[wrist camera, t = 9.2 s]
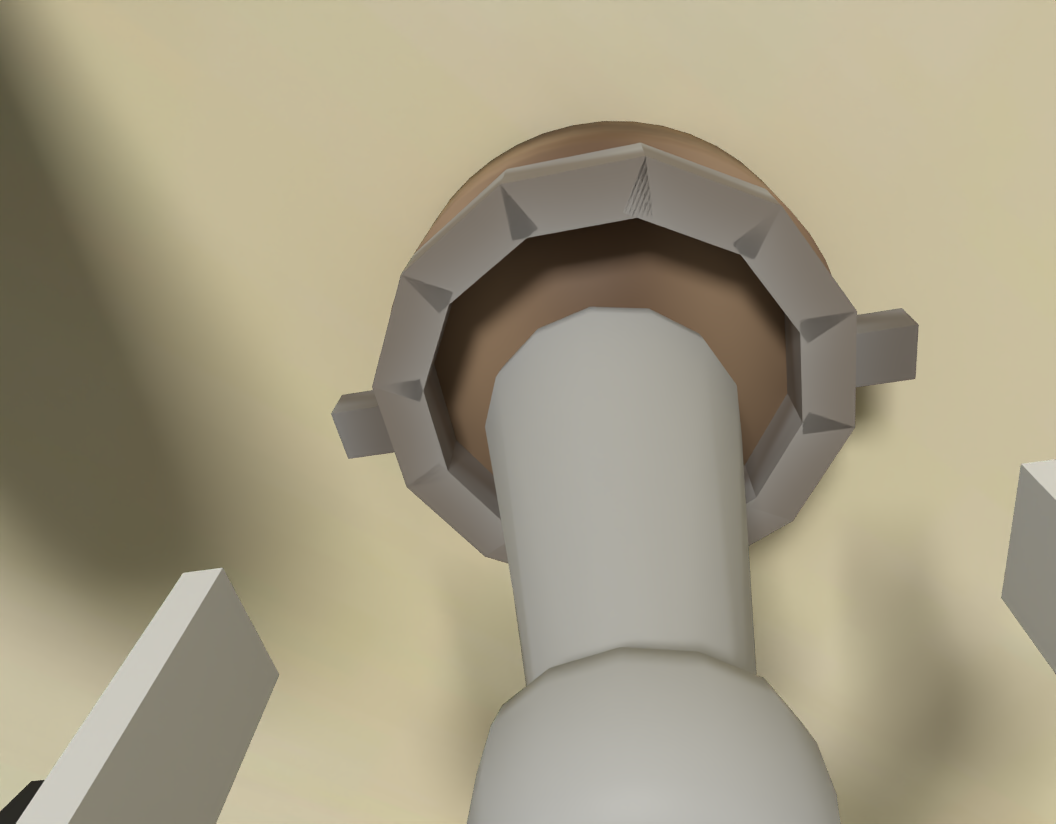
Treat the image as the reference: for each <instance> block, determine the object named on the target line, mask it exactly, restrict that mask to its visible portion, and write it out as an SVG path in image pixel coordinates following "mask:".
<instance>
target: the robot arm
mask: <svg viewBox="0 0 1056 824" xmlns="http://www.w3.org/2000/svg"><path fill="white" fill-rule="evenodd" d="M1001 598H1002V600H1003V601H1004V602H1005V604H1006V605H1007V607H1008V608H1009V609H1010V611H1011V612H1012V614H1013V615H1014V616H1015V618H1016V619H1017V621H1018V622H1019V623H1020V625H1021V626H1022V628H1023V629H1024V630H1025V632H1026V633H1027V635H1028V636H1029V637H1030V639H1031V640H1032V642H1033V643H1034V644H1035V646H1036V647H1037V649H1038V650H1039V651H1040V653H1041V654H1042V655H1043V657H1044V658H1045V660H1046V661H1047V662H1048V664H1049V665H1050V667H1051V668H1052V669H1053V671H1054V672H1055V674H1056V459H1055V460H1047V461H1039V462H1031V463H1024V464H1021V468H1020V474H1019V481H1018V488H1017V495H1016V501H1015V508H1014V515H1013V522H1012V529H1011V535H1010V542H1009V549H1008V556H1007V562H1006V569H1005V576H1004V583H1003V589H1002V596H1001ZM278 677H279V673H278V671H277V669H276V668H275V666H274V664H273V662H272V660H271V658H270V656H269V654H268V652H267V650H266V649H265V647H264V645H263V643H262V641H261V639H260V637H259V635H258V633H257V631H256V630H255V628H254V626H253V624H252V622H251V620H250V618H249V616H248V614H247V613H246V611H245V609H244V607H243V605H242V603H241V601H240V599H239V597H238V595H237V594H236V592H235V590H234V588H233V586H232V584H231V582H230V580H229V578H228V576H227V575H226V573H225V571H224V569H223V568H216V569H209V570H201V571H193V572H185V573H183V574H182V575H181V577H180V578H179V580H178V581H177V583H176V584H175V586H174V587H173V589H172V590H171V592H170V593H169V595H168V596H167V598H166V599H165V601H164V602H163V604H162V605H161V607H160V608H159V610H158V611H157V613H156V614H155V616H154V617H153V619H152V620H151V622H150V623H149V625H148V626H147V628H146V629H145V631H144V632H143V634H142V635H141V637H140V638H139V640H138V641H137V643H136V644H135V646H134V647H133V649H132V650H131V652H130V653H129V655H128V656H127V658H126V659H125V661H124V662H123V664H122V665H121V667H120V668H119V670H118V671H117V673H116V674H115V676H114V677H113V679H112V680H111V682H110V683H109V685H108V686H107V688H106V689H105V691H104V692H103V694H102V695H101V697H100V698H99V700H98V701H97V703H96V704H95V706H94V707H93V709H92V710H91V712H90V713H89V715H88V716H87V718H86V719H85V721H84V722H83V724H82V725H81V727H80V728H79V730H78V731H77V733H76V734H75V736H74V737H73V739H72V740H71V742H70V743H69V745H68V746H67V748H66V749H65V751H64V752H63V754H62V755H61V757H60V758H59V760H58V761H57V763H56V764H55V766H54V767H53V769H52V770H51V772H50V773H49V775H48V776H47V778H46V779H45V780H40V781H31V782H30V783H29V784H28V785H27V786H26V787H25V788H24V789H23V790H22V791H21V792H20V793H19V794H18V795H17V796H16V797H15V798H14V799H13V800H12V801H11V802H10V803H9V804H8V805H7V806H5V807H4V808H3V809H2V810H1V811H0V824H216V822H217V820H218V817H219V815H220V812H221V810H222V808H223V805H224V803H225V801H226V798H227V796H228V794H229V791H230V789H231V787H232V784H233V782H234V780H235V777H236V775H237V773H238V770H239V768H240V766H241V763H242V761H243V759H244V756H245V754H246V752H247V749H248V747H249V744H250V742H251V740H252V737H253V735H254V733H255V730H256V728H257V726H258V723H259V721H260V719H261V716H262V714H263V712H264V709H265V707H266V705H267V702H268V700H269V698H270V695H271V693H272V691H273V688H274V686H275V684H276V681H277V679H278Z"/></svg>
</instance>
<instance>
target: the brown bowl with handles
mask: <svg viewBox="0 0 1056 824" xmlns="http://www.w3.org/2000/svg"><path fill="white" fill-rule="evenodd" d="M594 306H595V307H612V308H647V309H651V310H653V311H655V312H657V313H659V314H661V315H663V316H665V317H667V318H669V319H671V320H673V321H675V322H677V323H679V324H681V325H683V326H685V327H687V328H689V329H691V330H693V331H695V332H697V333H699V334H700V335H701V337H702V338H703V339H704V340H705V342H706V343H707V344H708V346H709V347H710V349H711V350H712V351H713V353H714V354H715V355H716V357H717V358H718V360H719V361H720V362H721V364H722V365H723V367H724V368H725V369H726V371H727V372H728V374H729V375H730V376H731V378H732V379H733V381H734V382H735V383H736V385H737V393H738V403H739V413H740V423H741V433H742V448H743V464H744V481H745V497H746V513H747V530H748V546H749V545H751V544H753V543H755V542H756V541H758V540H760V539H762V538H763V537H765V536H767V535H769V534H770V533H772V532H774V531H776V530H778V529H779V528H781V527H783V526H785V525H786V524H788V523H790V522H792V521H793V520H794V518H795V517H796V515H797V514H798V512H799V511H800V509H801V508H802V506H803V505H804V503H805V502H806V500H807V499H808V497H809V496H810V494H811V493H812V491H813V490H814V488H815V487H816V485H817V484H818V482H819V481H820V479H821V478H822V476H823V475H824V473H825V472H826V470H827V469H828V467H829V466H830V464H831V463H832V461H833V460H834V458H835V457H836V455H837V454H838V452H839V451H840V449H841V448H842V446H843V445H844V443H845V442H846V440H847V439H848V437H849V436H850V434H851V433H852V431H853V430H854V428H855V401H856V387H861V386H869V385H876V384H883V383H890V382H897V381H904V380H911V379H915V376H916V359H917V342H918V326H919V325H918V324H917V323H916V322H915V321H914V320H913V319H912V318H911V317H910V316H909V315H908V314H907V313H906V312H905V311H904V310H903V309H902V308H899V309H893V310H887V311H880V312H874V313H867V314H861V315H857V311H856V309H855V308H854V306H853V305H852V304H851V302H850V301H849V299H848V298H847V297H846V295H845V294H844V292H843V291H842V290H841V288H840V287H839V285H838V284H837V283H836V281H835V280H834V278H833V277H832V275H831V273H830V270H829V268H828V265H827V263H826V260H825V258H824V257H823V255H822V253H821V252H820V250H819V248H818V247H817V245H816V243H815V242H814V240H813V238H812V237H811V235H810V233H809V232H808V231H807V230H806V229H805V227H804V226H803V225H802V224H801V223H800V221H799V220H798V219H797V218H796V217H795V215H794V214H793V213H792V212H791V211H790V210H789V208H788V207H787V206H786V205H785V204H784V203H783V202H782V201H781V200H780V199H779V198H778V197H777V196H776V195H775V194H774V193H773V192H772V191H771V190H770V189H769V188H768V187H767V185H766V184H765V183H764V182H763V181H762V180H761V179H759V178H758V177H757V176H756V175H755V174H754V173H753V172H752V171H750V170H749V169H748V168H747V167H746V166H745V165H744V164H743V163H741V162H740V161H739V160H737V159H736V158H734V157H732V156H731V155H729V154H728V153H726V152H725V151H723V150H722V149H720V148H719V147H717V146H715V145H713V144H711V143H708V142H706V141H704V140H702V139H700V138H697V137H695V136H693V135H691V134H688V133H685V132H681V131H678V130H674V129H671V128H668V127H664V126H659V125H653V124H646V123H639V122H620V121H602V122H594V123H587V124H579V125H572V126H569V127H565V128H561V129H558V130H554V131H551V132H547V133H544V134H541V135H539V136H537V137H534V138H532V139H530V140H527V141H525V142H523V143H520V144H518V145H516V146H514V147H513V148H511V149H509V150H508V151H506V152H504V153H503V154H501V155H500V156H498V157H496V158H495V159H493V160H491V161H490V162H489V163H488V164H487V165H485V166H484V167H483V168H482V169H480V170H479V171H478V172H477V173H475V174H474V175H473V176H472V177H471V178H469V180H468V181H467V182H466V183H465V184H464V185H463V186H462V187H461V188H460V189H459V190H458V191H457V192H456V193H455V195H454V196H453V197H452V198H451V199H450V201H449V202H448V203H447V205H446V206H445V208H444V209H443V211H442V212H441V213H440V215H439V216H438V218H437V219H436V221H435V222H434V224H433V225H432V227H431V228H430V230H429V231H428V233H427V235H426V236H425V238H424V239H423V241H422V242H421V244H420V245H419V247H418V249H417V250H416V252H415V253H414V255H413V257H412V258H411V260H410V261H409V263H408V264H407V266H406V267H405V269H404V271H403V272H402V274H401V276H400V280H399V284H398V288H397V292H396V296H395V299H394V302H393V305H392V310H391V315H390V319H389V323H388V327H387V331H386V335H385V339H384V343H383V347H382V351H381V354H380V358H379V362H378V366H377V370H376V374H375V378H374V382H373V386H372V388H373V390H371V391H365V392H359V393H352V394H346V395H342V396H341V398H340V400H339V401H338V403H337V405H336V406H335V408H334V410H333V411H332V413H331V415H332V417H333V420H334V423H335V425H336V428H337V430H338V433H339V436H340V438H341V441H342V443H343V446H344V449H345V451H346V454H347V457H348V459H350V458H357V457H365V456H372V455H379V454H386V453H393V452H395V454H396V457H397V460H398V463H399V466H400V469H401V472H402V475H403V478H404V481H405V484H406V486H407V488H408V489H409V490H411V491H412V492H413V493H414V494H415V495H416V496H417V497H419V498H420V499H421V500H422V501H423V502H424V503H425V504H426V505H428V506H429V507H430V508H431V509H432V510H433V511H434V512H435V513H437V514H438V515H439V516H440V517H441V518H442V519H443V520H444V521H446V522H447V523H448V524H449V525H450V526H451V527H452V528H453V529H455V530H456V531H457V532H458V533H459V534H460V535H461V536H462V537H464V538H465V539H466V540H467V541H468V542H469V543H470V544H471V545H473V546H474V547H475V548H476V549H477V550H478V551H479V552H480V553H482V554H483V555H484V556H485V557H488V558H492V559H495V560H498V561H502V562H505V563H508V558H507V552H506V546H505V540H504V535H503V529H502V523H501V517H500V511H499V505H498V500H497V494H496V488H495V482H494V476H493V470H492V465H491V459H490V453H489V447H488V441H487V436H486V430H485V424H486V419H487V415H488V410H489V406H490V401H491V397H492V392H493V387H494V383H495V378H496V376H497V375H498V373H499V371H500V370H501V368H502V367H503V366H504V365H505V364H506V363H507V362H508V361H509V359H510V358H511V357H512V356H513V355H514V354H515V353H516V352H517V351H518V350H519V349H520V348H521V346H522V345H523V344H524V343H525V342H526V341H527V340H528V339H529V338H530V337H531V336H532V334H533V333H534V332H535V331H536V330H537V329H539V328H541V327H543V326H546V325H548V324H550V323H553V322H555V321H557V320H560V319H562V318H565V317H567V316H569V315H572V314H574V313H576V312H579V311H581V310H583V309H586V308H588V307H594Z"/></svg>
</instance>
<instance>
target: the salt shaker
mask: <svg viewBox="0 0 1056 824" xmlns="http://www.w3.org/2000/svg"><path fill="white" fill-rule="evenodd" d="M485 430H486V436H487V441H488V447H489V453H490V459H491V465H492V470H493V476H494V482H495V488H496V494H497V500H498V505H499V511H500V517H501V523H502V529H503V535H504V540H505V546H506V552H507V558H508V564H509V570H510V575H511V581H512V587H513V593H514V600H515V608H516V615H517V622H518V630H519V637H520V644H521V652H522V659H523V666H524V674H525V681H526V687H525V688H523V689H522V690H521V691H520V692H518V693H517V694H516V695H514V696H513V697H512V698H511V699H509V700H508V701H507V702H506V703H504V704H503V705H502V707H501V708H500V710H499V712H498V714H497V716H496V718H495V719H494V721H493V723H492V725H491V728H490V731H489V734H488V738H487V741H486V744H485V748H484V751H483V754H482V757H481V761H480V764H479V767H478V771H477V774H476V779H475V784H474V790H473V795H472V800H471V805H470V810H469V815H468V820H467V824H841V823H840V816H839V809H838V802H837V794H836V791H835V789H834V786H833V784H832V781H831V778H830V776H829V773H828V771H827V768H826V766H825V763H824V760H823V758H822V755H821V753H820V750H819V747H818V745H817V742H816V741H815V740H814V738H813V737H812V736H811V734H810V733H809V732H808V730H807V729H806V728H805V726H804V725H803V724H802V722H801V721H800V720H799V719H798V717H797V716H796V715H795V714H794V713H793V712H792V710H791V709H790V708H789V707H788V706H787V704H786V703H785V702H784V701H783V700H782V699H781V697H780V696H779V695H778V694H777V693H776V692H775V690H774V689H773V688H772V687H771V686H770V685H769V683H768V682H767V681H766V680H765V679H764V678H763V677H760V676H758V675H756V661H755V644H754V628H753V612H752V595H751V579H750V562H749V546H748V530H747V513H746V497H745V481H744V464H743V448H742V433H741V423H740V413H739V403H738V393H737V385H736V383H735V382H734V381H733V379H732V378H731V376H730V375H729V374H728V372H727V371H726V369H725V368H724V367H723V365H722V364H721V362H720V361H719V360H718V358H717V357H716V355H715V354H714V353H713V351H712V350H711V349H710V347H709V346H708V344H707V343H706V342H705V340H704V339H703V338H702V337H701V335H700V334H699V333H697V332H695V331H693V330H691V329H689V328H687V327H685V326H683V325H681V324H679V323H677V322H675V321H673V320H671V319H669V318H667V317H665V316H663V315H661V314H659V313H657V312H655V311H653V310H651V309H647V308H612V307H595V306H594V307H588V308H586V309H583V310H581V311H579V312H576V313H574V314H572V315H569V316H567V317H565V318H562V319H560V320H557V321H555V322H553V323H550V324H548V325H546V326H543V327H541V328H539V329H537V330H536V331H535V332H534V333H533V334H532V336H531V337H530V338H529V339H528V340H527V341H526V342H525V343H524V344H523V345H522V346H521V348H520V349H519V350H518V351H517V352H516V353H515V354H514V355H513V356H512V357H511V358H510V359H509V361H508V362H507V363H506V364H505V365H504V366H503V367H502V368H501V370H500V371H499V373H498V375H497V376H496V378H495V383H494V387H493V392H492V397H491V401H490V406H489V410H488V415H487V419H486V424H485Z"/></svg>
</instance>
